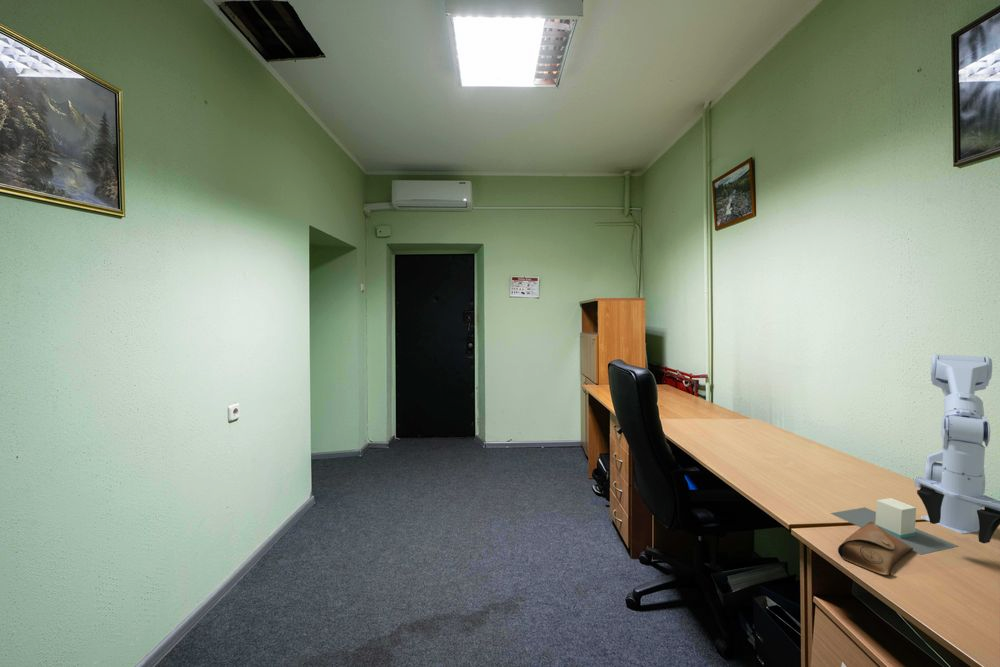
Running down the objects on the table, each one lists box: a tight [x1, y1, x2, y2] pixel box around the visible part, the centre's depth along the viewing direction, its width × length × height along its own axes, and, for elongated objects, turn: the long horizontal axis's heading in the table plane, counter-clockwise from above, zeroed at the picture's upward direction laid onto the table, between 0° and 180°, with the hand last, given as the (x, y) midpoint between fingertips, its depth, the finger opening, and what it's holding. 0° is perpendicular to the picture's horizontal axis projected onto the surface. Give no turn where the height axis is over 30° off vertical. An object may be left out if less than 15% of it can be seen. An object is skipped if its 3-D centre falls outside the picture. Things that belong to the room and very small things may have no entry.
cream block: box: [875, 497, 917, 538], centre depth 94 cm, size 5×5×7 cm
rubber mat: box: [830, 506, 959, 556], centre depth 96 cm, size 13×18×1 cm
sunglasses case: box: [837, 521, 914, 576], centre depth 86 cm, size 18×7×7 cm, turn 121°
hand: (958, 531), depth 83 cm, fingers open, 7 cm apart
